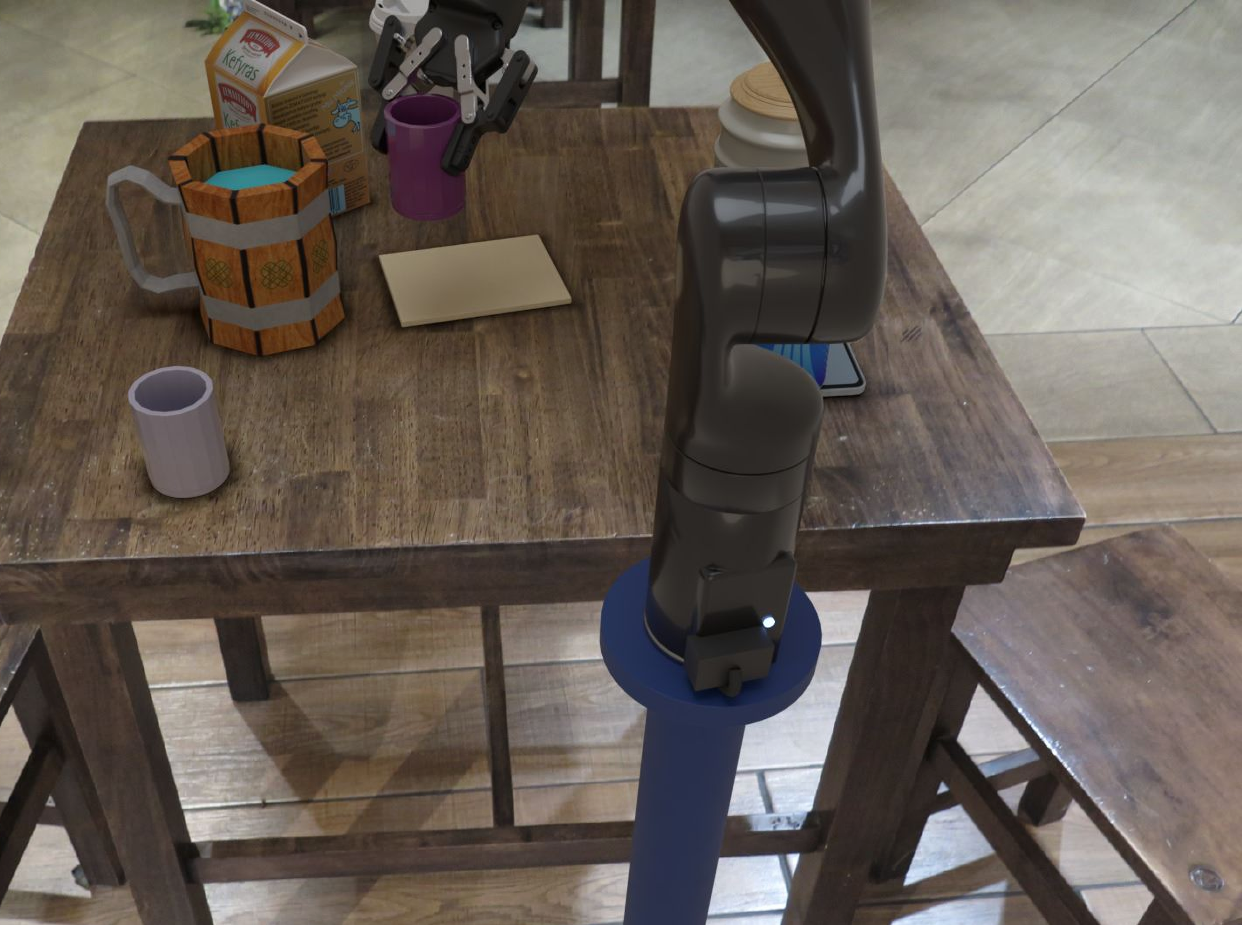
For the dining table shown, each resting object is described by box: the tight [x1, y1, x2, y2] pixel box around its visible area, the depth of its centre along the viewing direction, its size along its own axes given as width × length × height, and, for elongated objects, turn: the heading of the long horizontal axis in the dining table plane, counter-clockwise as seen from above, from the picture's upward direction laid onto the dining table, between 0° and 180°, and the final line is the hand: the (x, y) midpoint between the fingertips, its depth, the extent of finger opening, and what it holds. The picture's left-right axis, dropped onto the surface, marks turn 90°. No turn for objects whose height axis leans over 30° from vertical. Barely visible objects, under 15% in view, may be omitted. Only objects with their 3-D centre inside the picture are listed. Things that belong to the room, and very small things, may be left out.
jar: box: [713, 60, 809, 168], centre depth 121 cm, size 13×13×18 cm
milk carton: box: [204, 0, 371, 218], centre depth 124 cm, size 11×11×19 cm
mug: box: [104, 123, 347, 357], centre depth 111 cm, size 20×14×15 cm
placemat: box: [378, 234, 572, 328], centre depth 120 cm, size 12×16×1 cm
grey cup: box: [127, 365, 231, 499], centre depth 97 cm, size 6×6×8 cm
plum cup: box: [384, 93, 467, 222], centre depth 103 cm, size 6×6×8 cm
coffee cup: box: [368, 0, 454, 99], centre depth 135 cm, size 10×10×15 cm
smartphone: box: [820, 342, 867, 398], centre depth 112 cm, size 7×1×15 cm
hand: (414, 161), depth 102 cm, fingers closed on plum cup, 6 cm apart
